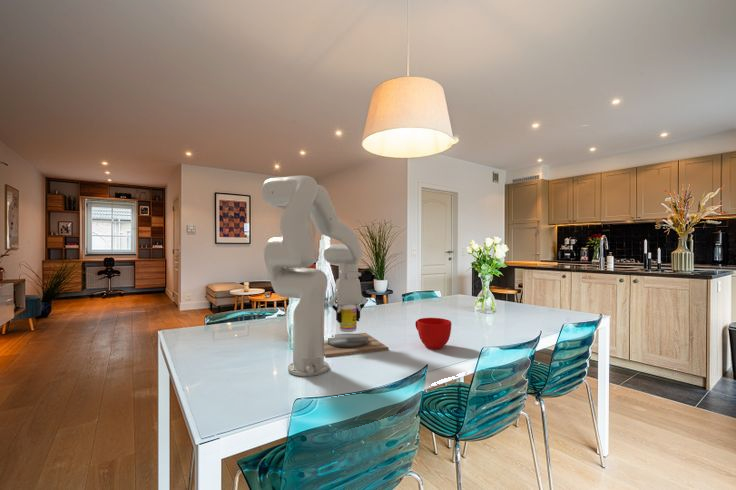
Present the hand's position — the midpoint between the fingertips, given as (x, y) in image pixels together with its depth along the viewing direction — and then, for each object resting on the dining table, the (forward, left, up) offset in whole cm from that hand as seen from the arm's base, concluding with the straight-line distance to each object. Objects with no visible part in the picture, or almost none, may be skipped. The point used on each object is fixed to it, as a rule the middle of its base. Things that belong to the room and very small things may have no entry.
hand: (348, 321), depth 137 cm
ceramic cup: (-12, -30, -10) cm, 34 cm away
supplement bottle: (0, 0, -4) cm, 4 cm away
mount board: (0, 0, -9) cm, 9 cm away
